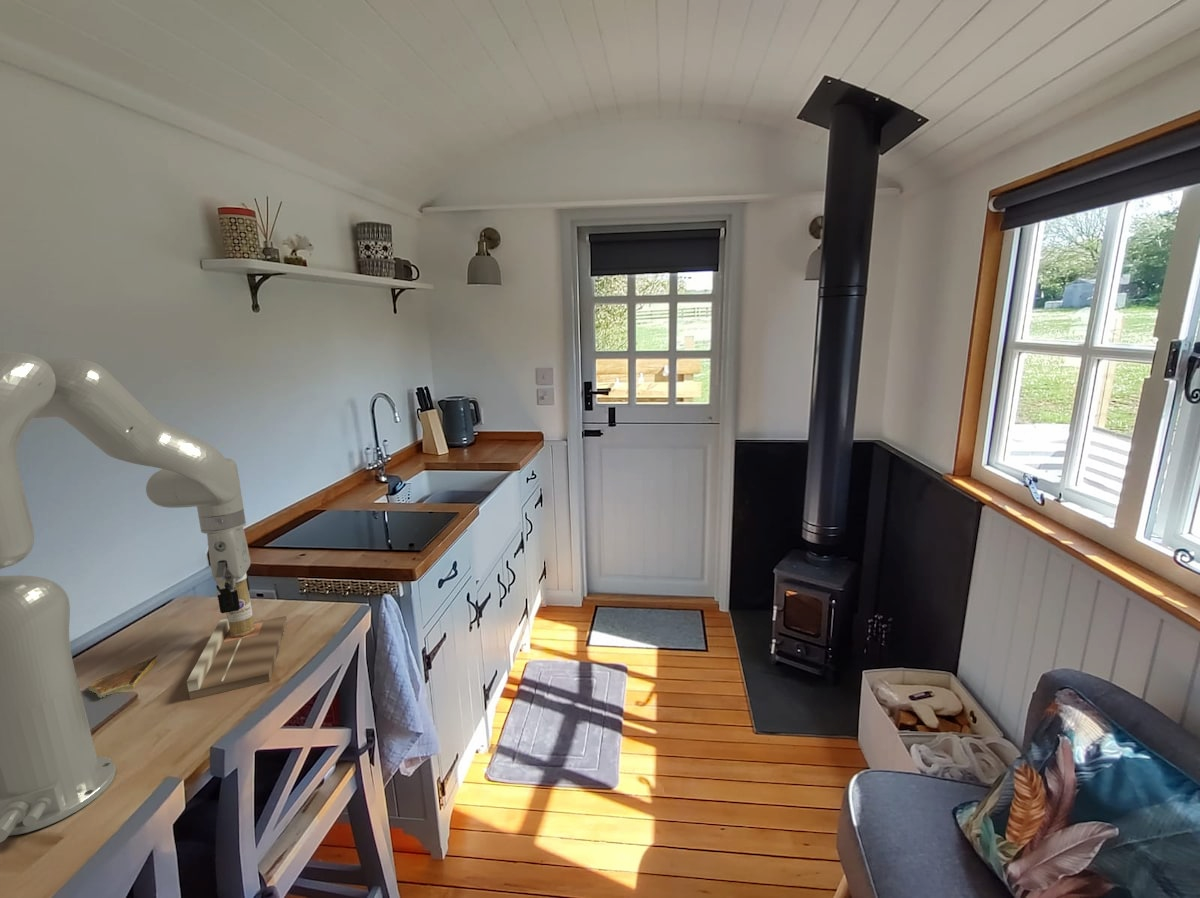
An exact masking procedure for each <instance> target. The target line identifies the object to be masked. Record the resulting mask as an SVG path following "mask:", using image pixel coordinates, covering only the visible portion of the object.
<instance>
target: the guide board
mask: <svg viewBox="0 0 1200 898" xmlns="http://www.w3.org/2000/svg"><path fill="white" fill-rule="evenodd" d="M286 620H287V621H288V619H287V616H286V615H285V616H280V617H274V618H270V619H265V620H260V621H259V620H258V621H254V625H255V630H254V631H253V632H251V633H250V634H247V635H245V636H240V637H232V636H230V628H229V622H228V619H227V618H223V619H219V621H218V623H217V625H216V627H215V629H214V630H213V632H212V634H211V636H210V638H209V639H208V641H207V643H206V645H205V647H204V648H203V651H202V652H201V654H200V656H199V657H198V660H197V661H196V664H195V666H194V667H193V669H192V670H191V673H190V675H189V676H188V678H187V679H186V684H187V689H188V695H189V699H190V700H194V699H199V698H204V697H207V696H211V695H216V694H220V693H224V692H228V691H234V690H236V689H242V688H245V687H247V688H248V687H251V686H254V685H258V684H259V685H260V684H263V683H268V682H270V681H271V677H272V674H273V671H274V669H275V664H276V660H277V657H278V654H279V651H280V648H281V645H280V644H282V641H283V638H282V636H283V637H284V634H283V632H284V633H285V631H284V628H285V624H286ZM286 625H287V624H286ZM285 629H286V628H285ZM281 640H282V641H281Z"/></svg>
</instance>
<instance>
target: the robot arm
mask: <svg viewBox="0 0 1200 898" xmlns="http://www.w3.org/2000/svg"><path fill="white" fill-rule="evenodd" d="M42 418H43V419H45V418H58V419H59V418H60V419H62V420H63V421H65V422H67V423H68V424H69V425H70V426H71V427H73V428H74V429H75V430H76V431H78V432H79V433H80V434H81V435H83V436H84V437H85V438H86V439H88V440H89V442H91V443H92V444H93V445H95V446H96V447H98V448H99V450H101V451H102V452H103V453H104V454H106V455H107V456H109V457H110V458H113V459H116V460H118V461H122V462H125V463H126V462H127V463H131V464H135V465H140V466H146V467H152V468H156V469H157V468H158V469H159V470H158V471H156V472H154V473H153V474H152V475H151V476H150V477H149V479H148V481H147V483H146V485H145V491H146V492H145V493H146V496H147V497H148V499H149V501H150V502H152V503H153V504H154V505H157V506H159V507H161V508H162V507H163V508H169V509H174V508H175V509H179V508H193V507H196V509H197V516H198V520H199V521H198V522H199V527H200V528H199V529H200V533H202V534H204V535H205V534H206V535H207V537H206V538H207V546H208V547H207V548H208V556H209V564H210V569H211V575H212V578H213V580H214V582H215V583H216V586H215V588H216V594H217V600H218V605H219V612H220V613H221V614H226V613H227V612H233V611H238V610H239V609H240V604H239V598H238V592H237V590H235V578H237V577H238V578H242V577H243V576H244V575H245V573H246V575H247V579H246V581H247V587H248V591H249V592H250V589H251V588H250V583H249V578H248V577H249V575H248V572H247V571H248V570H249V568H250V566H251V556H250V551H249V546H248V541H247V537H246V532H245V529H244V527H245V526H246V525H247V521H246V515H245V509H244V501H243V495H242V491H241V481H240V477H239V470H238V466H237V463H236V461H235V460H234V459H232V458H227V457H225V456H224V455H223V454H222V453H221V452H220V451H219V450H218V449H217V448H215V446H212V445H211V444H210V443H208V442H206V441H204V440H203V439H200V438H198V437H196V436H194V435H191V434H190V433H187V432H185V431H183V430H181V429H179V428H176V427H174V426H171V425H168V424H167V423H164V422H162V421H159V420H158V419H157V418H156V417H155V416H153V415H152V413H150V411H148V410H147V409H146V408H145V407H144V406H143V405H142V404H141V403H140V402H139V401H138V399H136V398H135V397H134V396H133V395H132V394H131V392H129V391H128V390H127V389H126V388H125V387H124V385H122V384H121V383H120V382H119V381H118V380H117V378H115V376H113V375H112V374H111V373H110V372H109V371H108V370H107V369H106V368H104V367H103V366H102V365H100V364H98V363H96V362H94V361H92V360H89V359H83V358H51V359H50V358H49V359H42V358H41V357H38V356H36V355H34V354H31V353H27V352H20V351H10V350H9V351H8V350H0V570H2V569H5V568H9V567H12V566H14V565H16V564H18V563H20V562H21V561H22V560H24V559H25V558H27V557H28V556H29V554H30V553H31V551H32V549H33V548H34V544H35V531H34V525H33V521H32V516H31V512H30V509H29V505H28V501H27V497H26V493H25V490H24V487H23V482H22V479H21V475H20V471H19V470H20V469H19V464H18V459H17V448H18V445H19V441H20V439H21V436H22V434H23V433H24V431H25V429H26V428H27V426H28V425H29V424H30V423H31V421H32V420H33V419H42ZM229 575H232V576H229ZM225 576H228V577H225ZM228 581H231V584H229V583H228ZM70 617H71V606H70V600H69V596H68V594H67V592H66V591H65V589H64V588H63V587H62V586H61V585H59V584H58V583H56V582H54V581H52V580H50V579H47V578H45V577H41V576H33V575H22V574H21V575H18V574H17V575H0V843H2V842H4V841H5V840H6V839H7V838H8V837H9V836H17V835H22V834H27V833H30V832H31V833H32V832H33V831H37V830H39V829H43V828H45V827H47V826H50V825H53V824H55V823H57V822H59V821H62V820H63V819H65V818H68V817H69V816H71V815H73V814H74V813H76V812H79V811H80V810H81V809H83V808H84V807H86V806H87V805H89V804H90V803H91V802H92V801H94V800H95V799H97V798H98V797H99V796H100V795H101V794H103V792H104V791H105V790H106V789H107V788H108V787H109V786H110V785H111V783H112V782H113V780H114V779H115V776H116V774H117V773H116V772H117V771H116V765H115V763H114V761H113V760H112V759H111V758H109V757H106V756H100V755H97V753H96V748H95V744H94V740H93V735H92V733H91V728H90V724H89V721H88V716H87V712H86V709H85V704H84V700H83V695H82V691H81V689H80V685H79V680H78V676H77V673H76V670H75V668H76V667H75V665H74V660H73V656H72V650H71V648H72V647H71V642H70V619H71V618H70Z"/></svg>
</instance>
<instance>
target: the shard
mask: <svg viewBox="0 0 1200 898" xmlns="http://www.w3.org/2000/svg"><path fill="white" fill-rule="evenodd" d="M158 656H159V655H158V654H156V655H155V656H154V657H151V658H148V659H145V660H143V661H141V662H139V663H135V664H132V665H131V666H128V667H125V668H123V669H121V670H117V671H116V672H113V673H111V674H108V675H106V676H103V677H102V678H100V679H97V680H96V681H93V682H91V683H90V684H89V685H88V686H87V688H88V691H89V692H91V691H92V692H91V693H93V692H94V693H97V694H98V695H100V696H101V697H102V696H104V695H106V694H108V693H115V692H119V693H122V692H126V691H130V690H131V691H132V690H133V689H134V688H135V686H136V685H137V683H138V682H139V681H140V680H141V679H142V678H143V677H144V676H145V675H146V674H147V673H148V672H149V671H150V670H151V669H152V668H153V667H154V666H155V664H156V661H157V658H158ZM94 693H93V694H94Z"/></svg>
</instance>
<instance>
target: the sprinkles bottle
mask: <svg viewBox="0 0 1200 898" xmlns="http://www.w3.org/2000/svg"><path fill="white" fill-rule="evenodd" d="M246 573H247V572H246ZM246 573H245V575H244V576H243V577H242V578H238V577H237V578H235V590H237V592H238V598H239V604H240V609H239V610H238V611H233V612H227V613H225V614H226V619H228V622H229V628H230V636H232V637H240V636H245V635H247V634H250V633H251V632H253V631H254V630H255V625H254V622H255V621H254V616H253V614H254V613H253V609H252V608H253V607H252V603H251V602H252V601H251V596H250V590H249V591H248V587H247V581H246V579H247V575H248V574H247V575H246ZM229 576H232V575H229ZM225 577H228V576H225ZM228 583H229V584H231V581H228Z"/></svg>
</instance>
